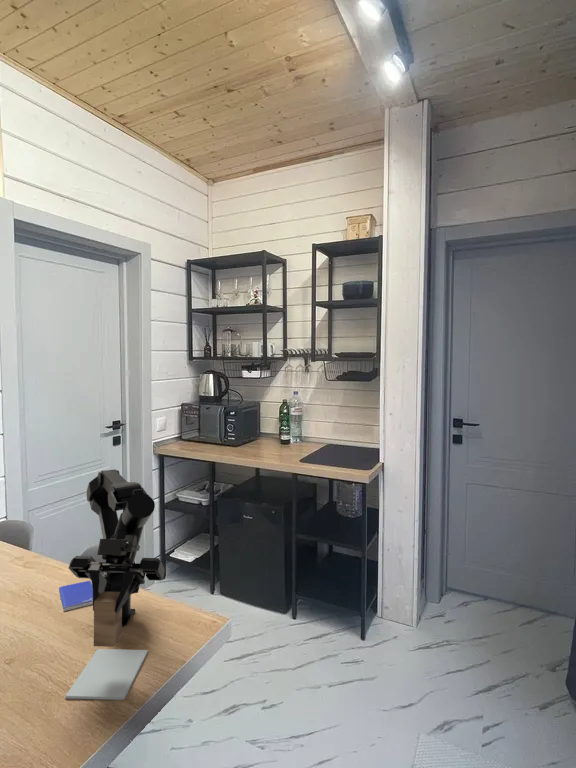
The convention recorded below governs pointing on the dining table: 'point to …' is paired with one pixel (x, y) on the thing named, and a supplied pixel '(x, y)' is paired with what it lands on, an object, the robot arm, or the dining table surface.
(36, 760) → the dining table surface
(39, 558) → the dining table surface
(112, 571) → the robot arm
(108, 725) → the dining table surface
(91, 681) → the mat
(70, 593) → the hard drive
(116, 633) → the walnut block
